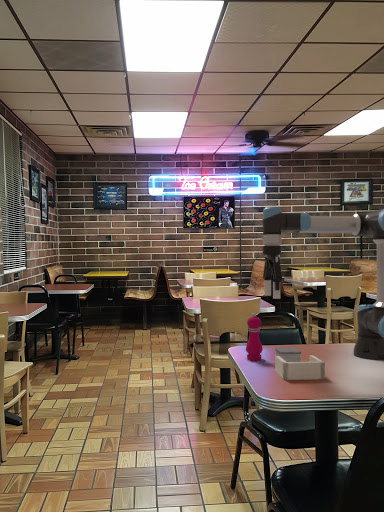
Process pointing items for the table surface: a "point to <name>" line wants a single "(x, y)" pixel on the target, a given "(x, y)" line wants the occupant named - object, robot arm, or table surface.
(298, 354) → the rounded grey cube
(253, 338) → the pepper mill
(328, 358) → the table surface
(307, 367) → the bay
